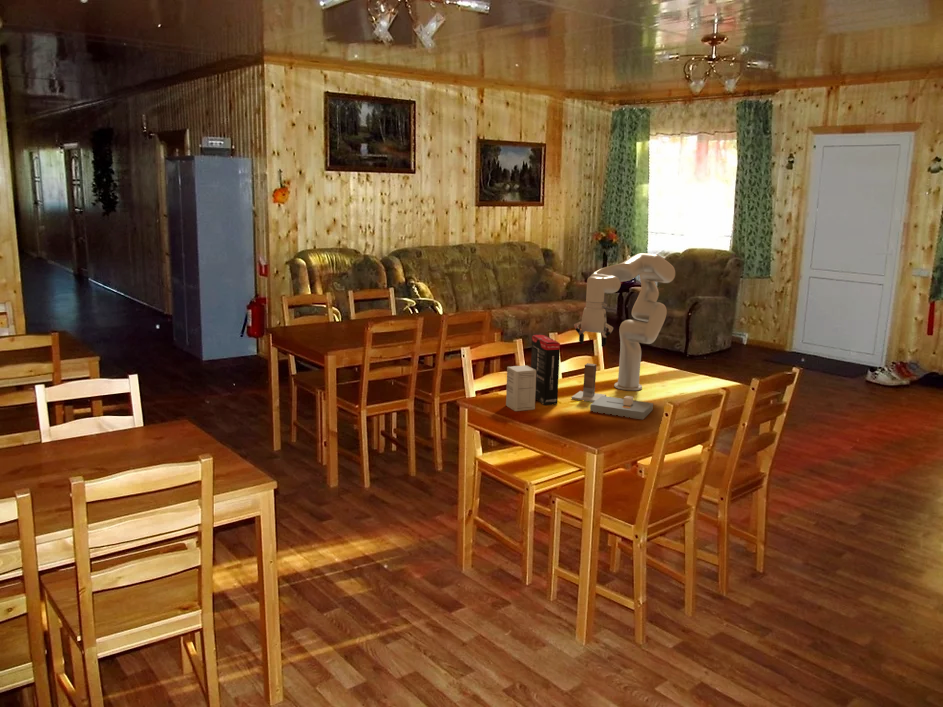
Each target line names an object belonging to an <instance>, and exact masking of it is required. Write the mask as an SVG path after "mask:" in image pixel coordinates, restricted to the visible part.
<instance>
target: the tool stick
mask: <svg viewBox="0 0 943 707" xmlns="http://www.w3.org/2000/svg"><path fill="white" fill-rule="evenodd" d="M596 376H597V363H596V364H595V363H589V362H587V363H586V364H584V373H583V396H584V397H591V398H592V397H593V396H594V394H595V393H596V392H595V390H596Z"/></svg>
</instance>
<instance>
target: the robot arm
mask: <svg viewBox="0 0 943 707" xmlns="http://www.w3.org/2000/svg"><path fill="white" fill-rule="evenodd" d="M675 269H676V268H675V267H674V266H673V265H672V264H671V263H670V262H669V261H668V260H666V259H665V258H663V257H662V256H661V255H659V254H654V253H646V252H645V253H644V252H641V253H640V252H638V253H636V254H634V255H632V256H631V257H629V258H628V259H625V260H624V261H623V262H620V263H617V264H612V265H608V266H605V267H602V268H600V269H598V270H596V271H594V272H593V273H591V275H590V276H589V277H588V278H587V280H586V296H585V299H586V300H585V307H584V309H583V311H582V317H581V320H580V321H578V322H576V323H574V324H573V326H574V329H575V331H576V332H577V334H578V335H579V336H578V337H579V338H578V342H579V344H580V345H583V344H584V343H585V342H584V341H585V334H584V333H585V332H586V333H587V332H589V333H600V334H601V336H602V337H601V347H602V348H603V347H606V345H607V338H608V336H610V335H611V334H612V332H613V330H614V327H613V326H612V325H610V324H609V323H607V312H606V310H607V309H605V308H607V307H608V304H607V303H605V294H615V293H616V292H618V291H619V290H620V288H621V285H622V283H623V282H627V281H628V282H629V281H631V280H633V279H635V278H636V277H638V276H639V278H640V286H641V287H640V292H639V293H638V296H637V299H636V301H635V302H634V305H633V307H632V309H631V317H632V318H633V319H625V320H623V321H622V322H621V323H620V326H619V329H618V330H619V332H618V333H619V340H620V341H619V343H620V347H619V348H620V351H619V361H618V362H619V363H618V364H619V365H618V377H617V382H615V383H614V388H616V389H618V390H622V391H633V392H634V391H641V390H642V388H643V386H642V384H640V374H641V373H640V371H641V361H642V348H641V344H646V345H650V344H653V343H654V342H655V341H656V340H657V337H658V336H659V334H660V332H661V330H662V327H663V325H664V323H665V320H666V317H667V313H668V310H667V307H666V305H665V304H664V303H662V302H660V301H658V299H659V295H660V292H659V289H658V287H657V283H663V284H669V283H671V282H672V281H674V279H675V277H676V270H675ZM621 282H622V283H621ZM580 325H581V327H579V326H580ZM607 329H608V331H607ZM640 343H641V344H640Z"/></svg>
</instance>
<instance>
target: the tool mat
mask: <svg viewBox="0 0 943 707" xmlns="http://www.w3.org/2000/svg"><path fill="white" fill-rule="evenodd" d="M601 396H607V394H602V393H596V392H595V394H594V396H593V397H592V398H591V397H584V396H583V391H582V390H579V391H578V392H576V393H575V394H573V395H572V396H571V397H570V399H571V398H572V399H571V400H573V399H578V400H577V401H579V400H584V401H583V402H586V401H590V402H589V403H593V402H594V401H596V400H597V399H598V398H600V397H601Z"/></svg>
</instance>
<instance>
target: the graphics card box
mask: <svg viewBox="0 0 943 707" xmlns="http://www.w3.org/2000/svg"><path fill="white" fill-rule="evenodd" d="M560 349H561V342H559V341H557V340H554V339H552V338H551V337H548V336H547V335H545V334H532V336H531V357H530V367H531V368H533V369H535V370H536V392H535V400H537V401H538V403H540V402H541V403H540V404H542V405H543V406H551V405H552V404H553V405H558V396H559V378H560V377H559V374H560V354H561V353H560V352H561V350H560Z"/></svg>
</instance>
